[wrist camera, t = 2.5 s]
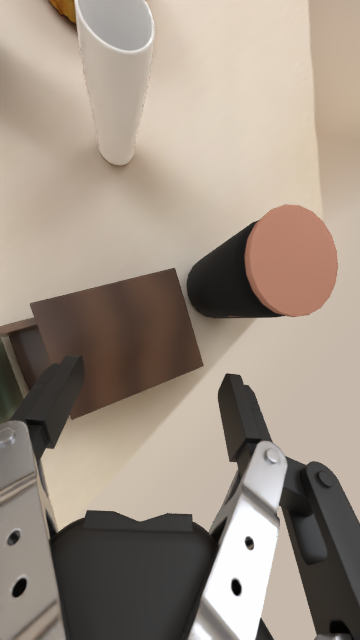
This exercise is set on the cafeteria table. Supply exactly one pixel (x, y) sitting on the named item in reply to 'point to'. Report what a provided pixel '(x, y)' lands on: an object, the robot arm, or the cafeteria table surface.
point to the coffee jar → (268, 269)
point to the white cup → (116, 69)
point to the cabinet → (121, 336)
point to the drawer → (20, 363)
